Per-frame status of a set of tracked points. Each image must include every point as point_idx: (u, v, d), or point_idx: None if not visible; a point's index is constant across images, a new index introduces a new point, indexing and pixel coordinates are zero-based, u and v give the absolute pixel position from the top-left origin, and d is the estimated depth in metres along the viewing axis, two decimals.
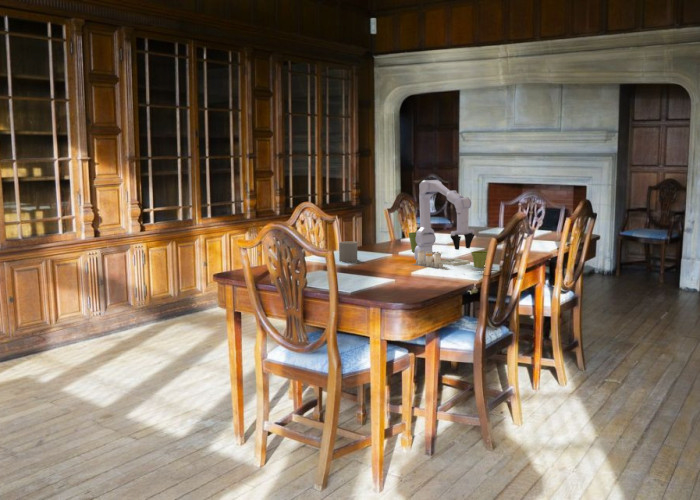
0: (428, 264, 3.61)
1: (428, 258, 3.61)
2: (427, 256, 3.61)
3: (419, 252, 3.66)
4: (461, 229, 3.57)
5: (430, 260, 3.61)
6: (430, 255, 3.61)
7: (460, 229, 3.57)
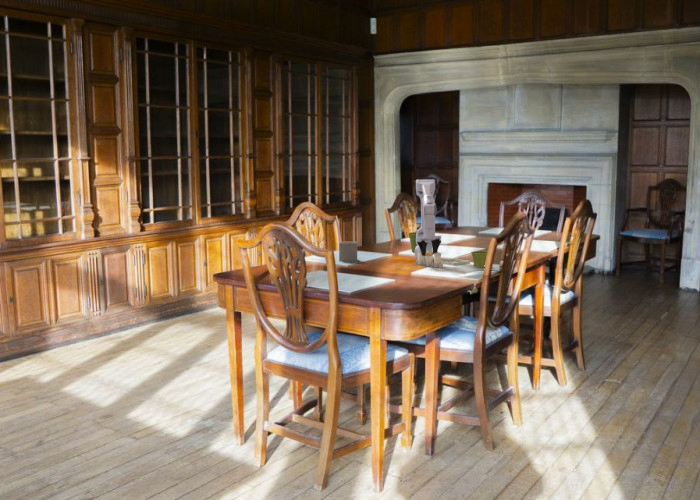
0: (428, 264, 3.61)
1: (428, 258, 3.61)
2: (427, 256, 3.61)
3: (419, 252, 3.66)
4: (427, 235, 3.58)
5: (430, 260, 3.61)
6: (430, 255, 3.61)
7: (426, 235, 3.58)
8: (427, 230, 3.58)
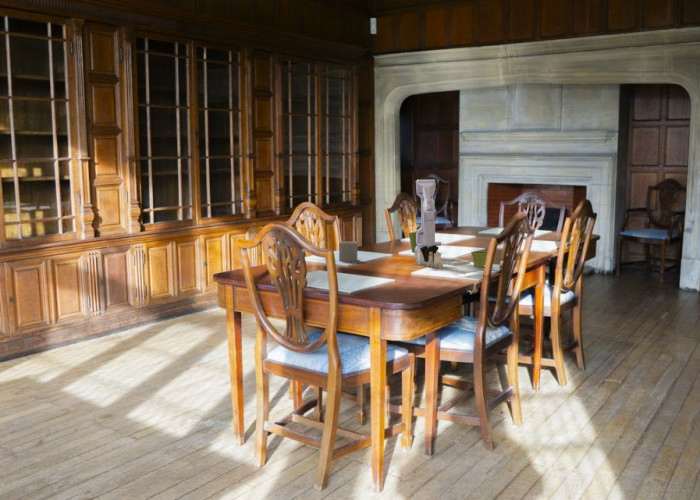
0: (428, 264, 3.61)
1: None
2: None
3: (419, 252, 3.66)
4: (427, 241, 3.59)
5: (430, 260, 3.61)
6: (430, 255, 3.61)
7: (426, 241, 3.59)
8: (427, 236, 3.58)
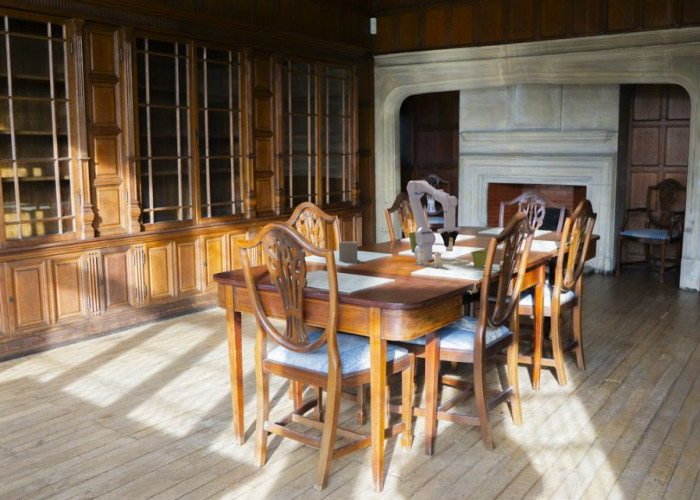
0: (448, 249, 3.67)
1: None
2: None
3: (419, 252, 3.66)
4: (448, 227, 3.65)
5: (450, 245, 3.67)
6: (450, 240, 3.67)
7: (447, 227, 3.65)
8: (447, 222, 3.65)
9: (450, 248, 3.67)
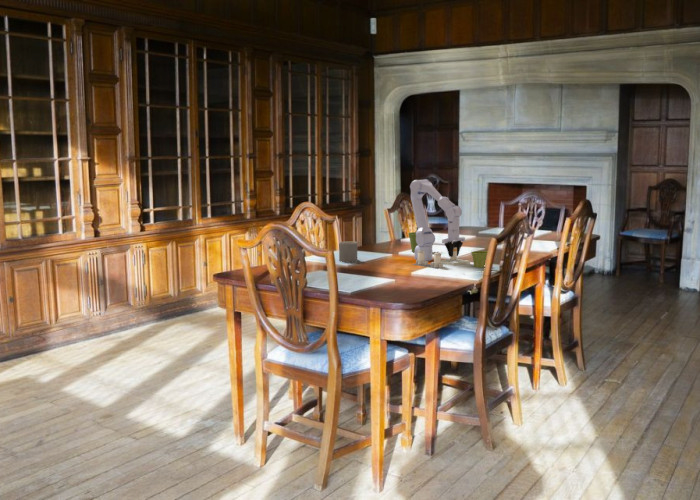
0: (453, 259, 3.70)
1: (453, 253, 3.69)
2: None
3: (419, 252, 3.66)
4: (452, 237, 3.67)
5: (455, 255, 3.69)
6: (455, 250, 3.69)
7: (451, 237, 3.67)
8: (452, 232, 3.67)
9: (454, 258, 3.70)
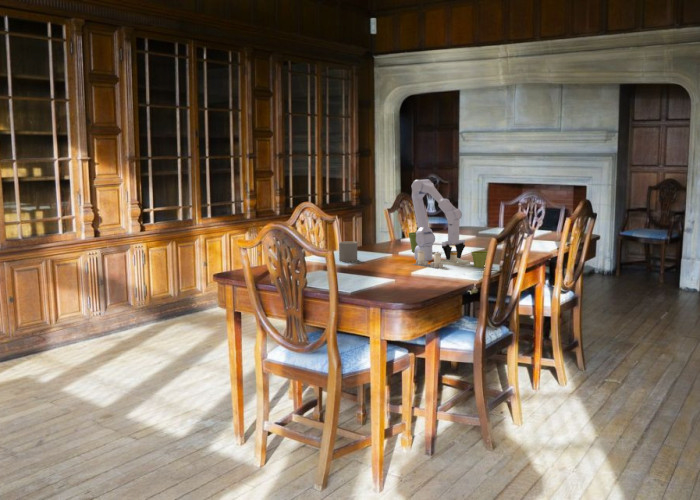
0: None
1: (453, 257, 3.70)
2: (452, 255, 3.70)
3: (419, 252, 3.66)
4: (452, 240, 3.67)
5: (454, 259, 3.70)
6: (455, 254, 3.69)
7: (451, 240, 3.67)
8: (452, 235, 3.67)
9: (454, 262, 3.70)
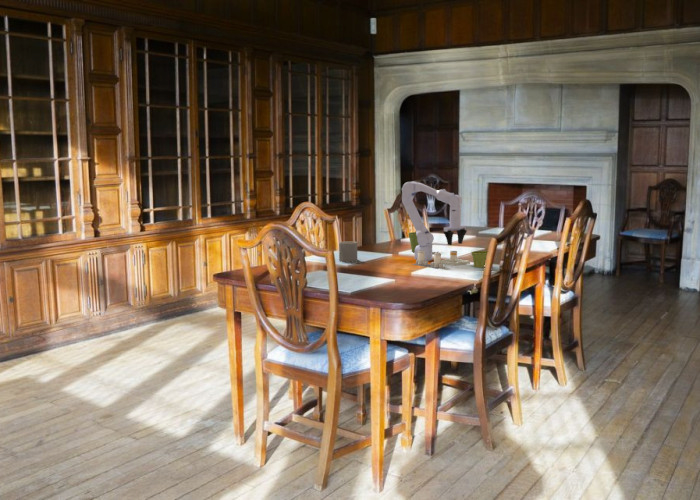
0: None
1: (453, 257, 3.70)
2: (452, 255, 3.70)
3: (419, 252, 3.66)
4: (453, 225, 3.72)
5: (454, 259, 3.70)
6: (455, 254, 3.69)
7: (453, 225, 3.73)
8: (453, 220, 3.72)
9: (454, 262, 3.70)
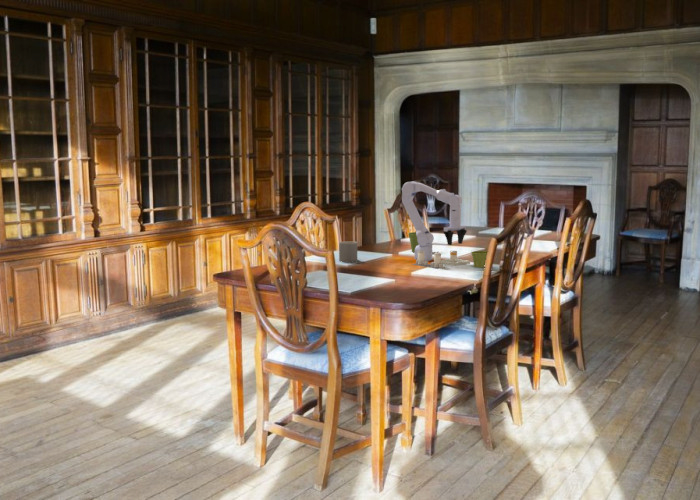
0: None
1: (453, 257, 3.70)
2: (452, 255, 3.70)
3: (419, 252, 3.66)
4: (454, 225, 3.72)
5: (454, 259, 3.70)
6: (455, 254, 3.69)
7: (453, 225, 3.73)
8: (453, 220, 3.72)
9: (454, 262, 3.70)
